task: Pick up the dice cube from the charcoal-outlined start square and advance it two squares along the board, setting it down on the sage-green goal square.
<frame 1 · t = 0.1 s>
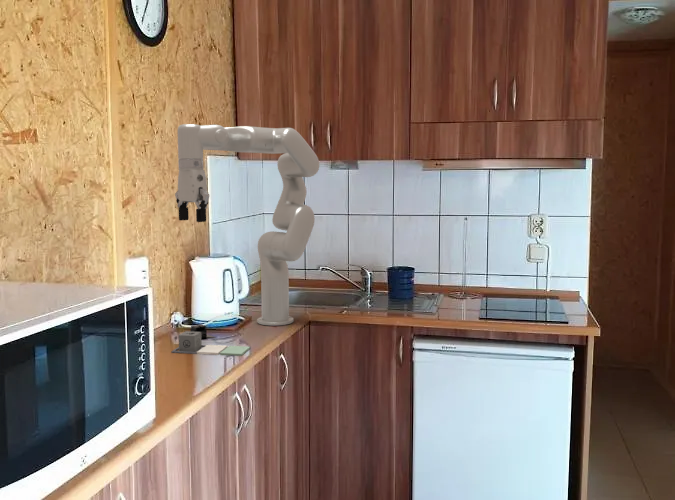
hand: (192, 221, 214), 37 cm above the worktop, tool pointing down, fingers open, 9 cm apart
dice cube: (190, 350, 206), resting on game board
game board: (212, 350, 204), on the worktop
black angular block: (198, 340, 220), on the worktop
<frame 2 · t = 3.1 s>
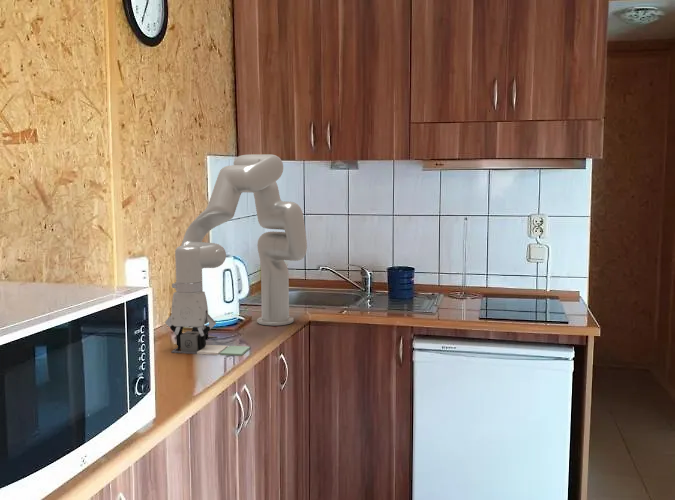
hand: (191, 347, 205), 1 cm above the worktop, tool pointing down, fingers open, 5 cm apart
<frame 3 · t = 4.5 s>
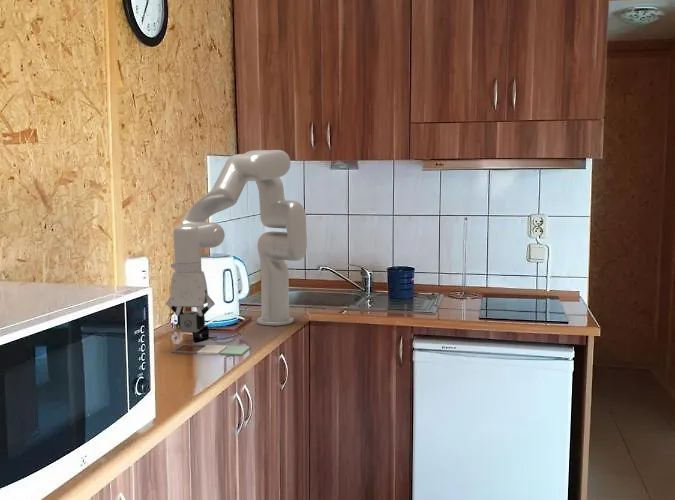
hand: (191, 327, 205), 7 cm above the worktop, tool pointing down, fingers closed on dice cube, 5 cm apart
dice cube: (192, 330, 206), point 6 cm above the worktop, touching gripper
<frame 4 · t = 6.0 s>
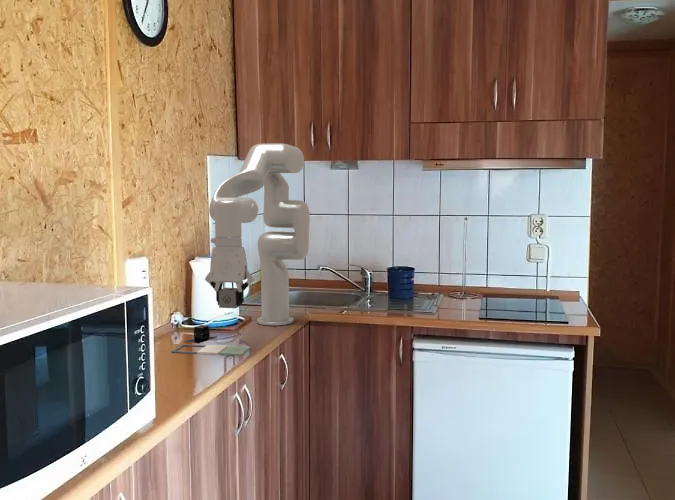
hand: (230, 303, 202), 14 cm above the worktop, tool pointing down, fingers closed on dice cube, 5 cm apart
dice cube: (230, 306, 202), point 13 cm above the worktop, touching gripper
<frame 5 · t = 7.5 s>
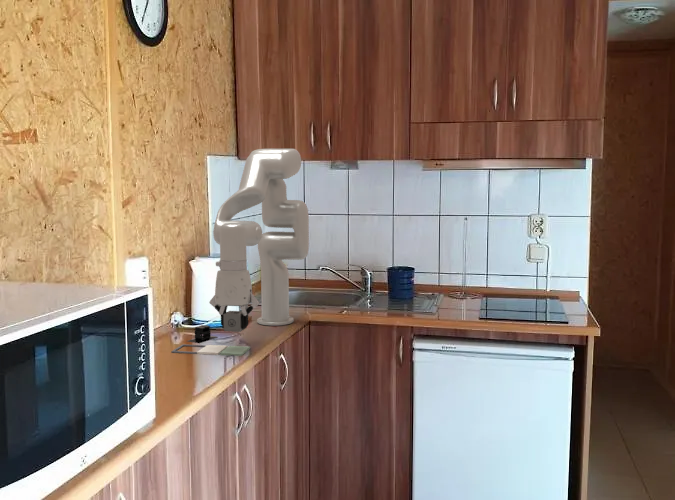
hand: (234, 327, 202), 7 cm above the worktop, tool pointing down, fingers closed on dice cube, 5 cm apart
dice cube: (235, 330, 202), point 6 cm above the worktop, touching gripper
when the fingers open (2 cm above the worktop, at t = 8.8 s): dice cube drops 1 cm, resting on game board.
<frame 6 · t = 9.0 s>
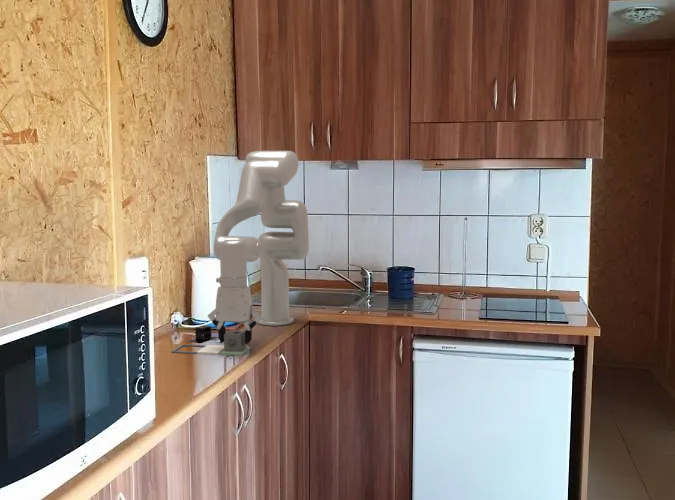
hand: (235, 341, 203), 3 cm above the worktop, tool pointing down, fingers open, 7 cm apart
dice cube: (235, 350, 203), resting on game board
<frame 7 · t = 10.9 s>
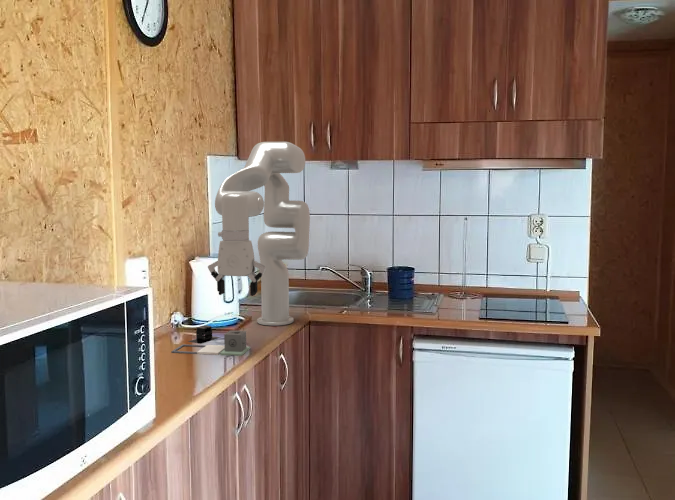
hand: (237, 294, 202), 17 cm above the worktop, tool pointing down, fingers open, 9 cm apart
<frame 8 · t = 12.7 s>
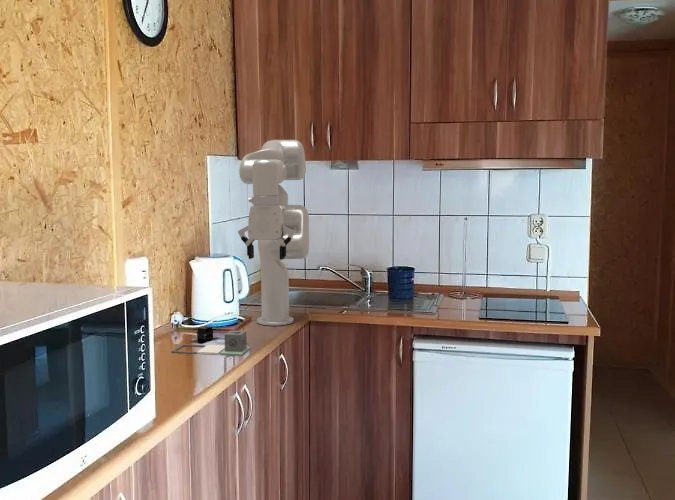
hand: (266, 258, 208), 26 cm above the worktop, tool pointing down, fingers open, 9 cm apart
at the end: dice cube 0.4 cm from the target spot on the game board, point 0.4 cm above the game board's base; dice cube tilted 0°; the gripper is holding nothing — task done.
